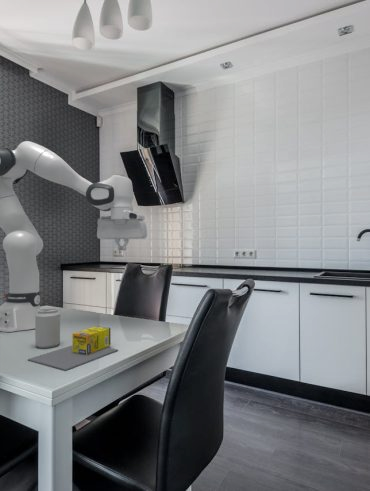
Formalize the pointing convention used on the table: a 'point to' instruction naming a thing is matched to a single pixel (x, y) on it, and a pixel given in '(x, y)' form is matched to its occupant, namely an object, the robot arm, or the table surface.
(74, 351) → the supplement box
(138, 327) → the table surface
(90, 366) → the table surface
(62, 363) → the rubber mat
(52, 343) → the can
